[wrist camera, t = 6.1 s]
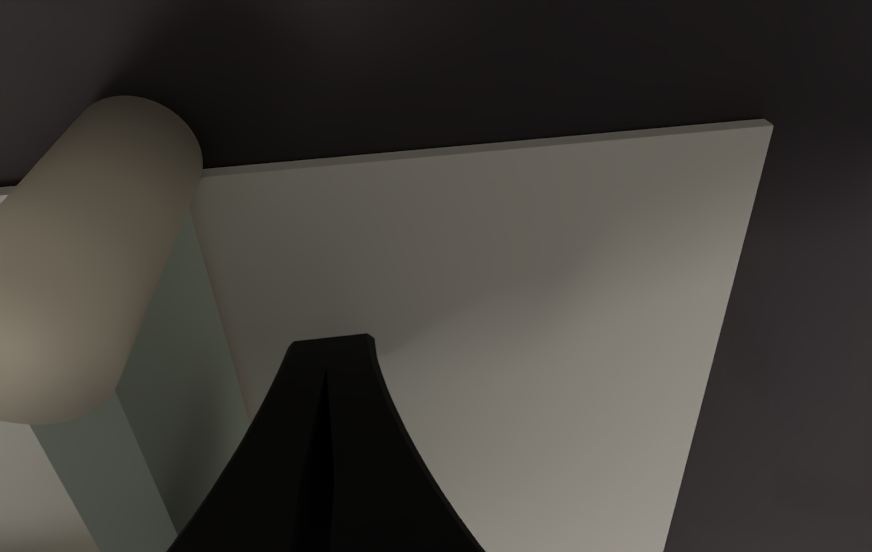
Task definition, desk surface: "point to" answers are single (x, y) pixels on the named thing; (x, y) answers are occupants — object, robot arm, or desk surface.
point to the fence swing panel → (117, 325)
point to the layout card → (483, 317)
